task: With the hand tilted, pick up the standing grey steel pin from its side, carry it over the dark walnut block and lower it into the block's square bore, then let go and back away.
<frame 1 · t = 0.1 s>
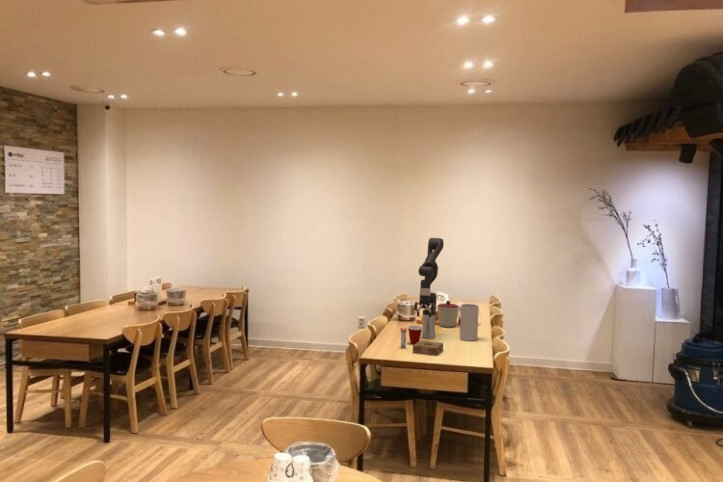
hand: (424, 317, 408), 17 cm above the table, tool pointing down, fingers open, 8 cm apart
plastic cup: (414, 344, 401), on the table
canister: (447, 326, 465), on the table
lynch pin: (403, 348, 387), on the table
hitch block: (428, 351, 378), on the table
cylinder vase: (468, 339, 418), on the table
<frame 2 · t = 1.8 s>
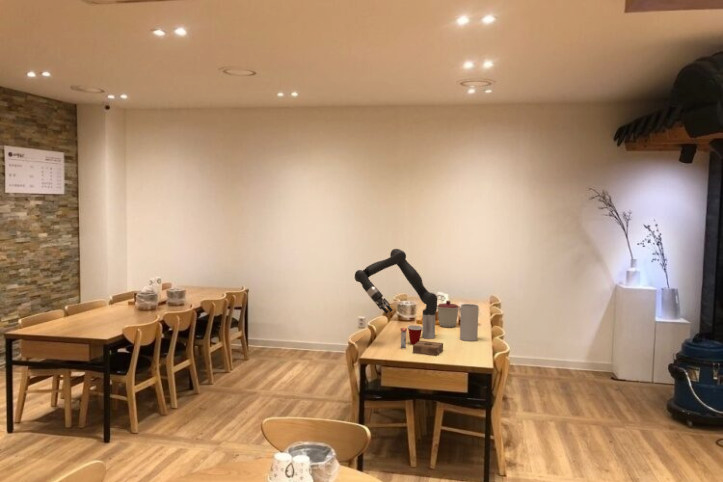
hand: (389, 312, 391), 23 cm above the table, tool tilted 45°, fingers open, 8 cm apart
nothing on the table moved.
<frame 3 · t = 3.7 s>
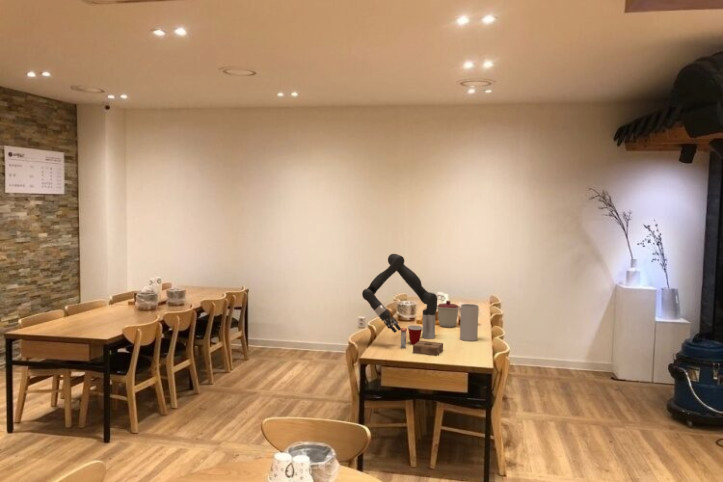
hand: (398, 330, 388), 11 cm above the table, tool tilted 45°, fingers open, 8 cm apart
nothing on the table moved.
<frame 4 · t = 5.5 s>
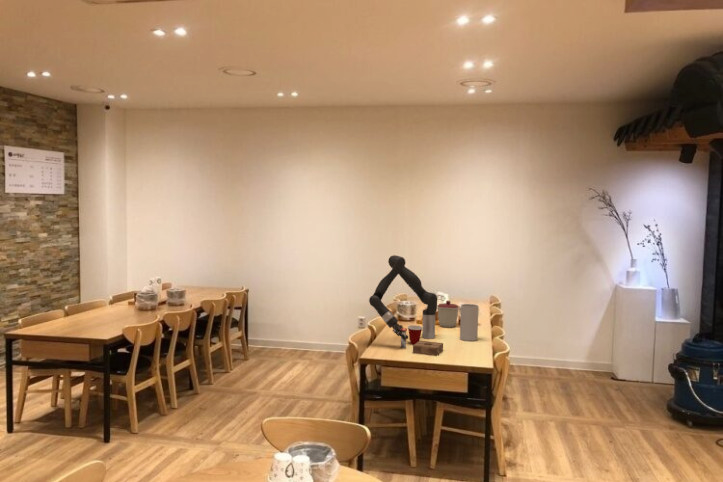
hand: (406, 338, 386), 7 cm above the table, tool tilted 45°, fingers closed on lynch pin, 3 cm apart
lynch pin: (403, 348, 387), on the table, touching gripper
everything else where it was.
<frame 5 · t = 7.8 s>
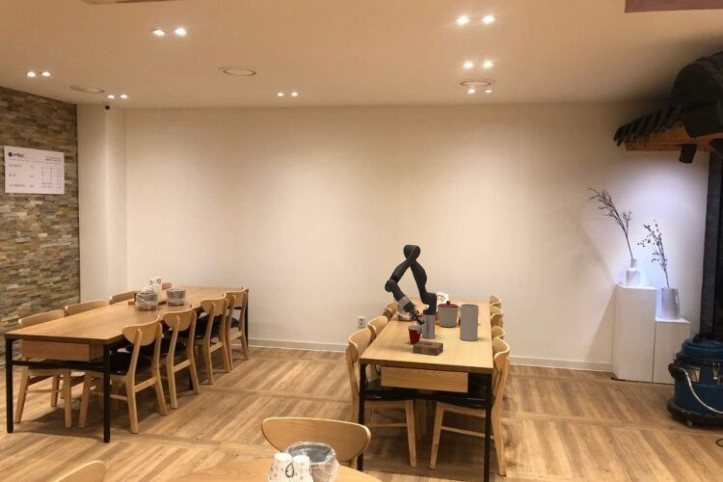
hand: (423, 323, 379), 18 cm above the table, tool tilted 45°, fingers closed on lynch pin, 3 cm apart
lynch pin: (419, 333, 381), point 11 cm above the table, touching gripper
everything else where it was.
when the fingers open (10 cm above the table, at t = 10.0 s): lynch pin drops 4 cm, resting in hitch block.
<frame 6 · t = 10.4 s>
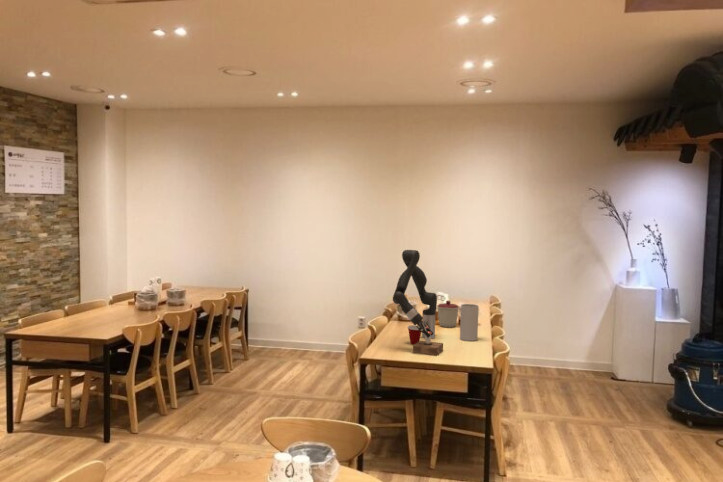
hand: (430, 335, 377), 11 cm above the table, tool tilted 45°, fingers open, 6 cm apart
lynch pin: (427, 351, 379), resting in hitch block
everything else where it was.
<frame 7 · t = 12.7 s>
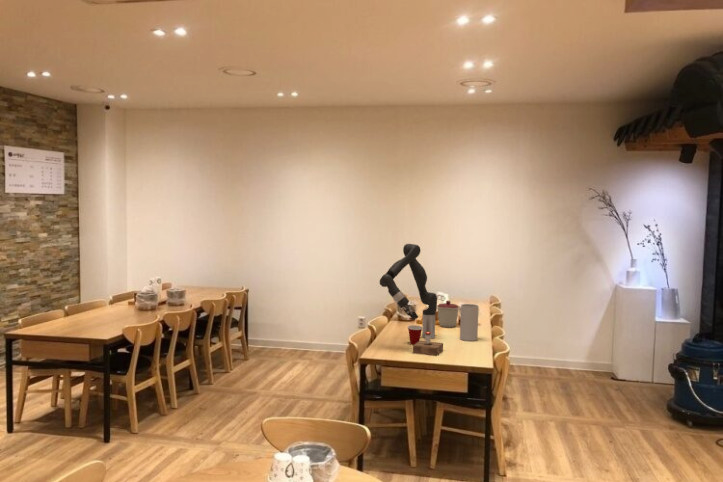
hand: (416, 318, 382), 21 cm above the table, tool tilted 40°, fingers open, 8 cm apart
nothing on the table moved.
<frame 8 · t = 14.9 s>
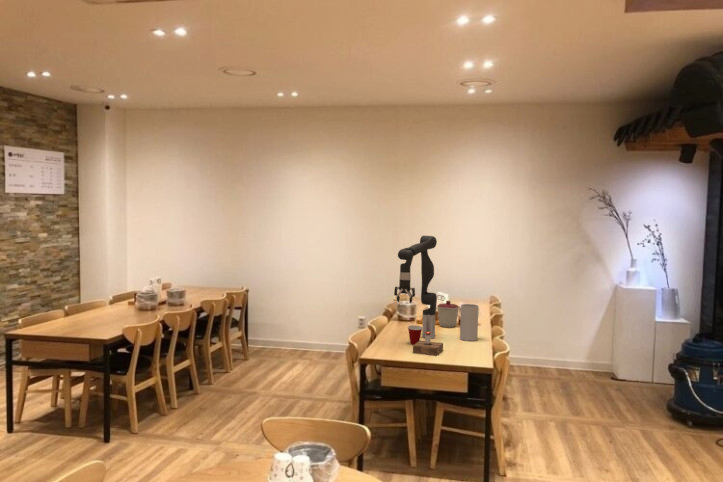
hand: (404, 302, 392), 30 cm above the table, tool pointing down, fingers open, 8 cm apart
nothing on the table moved.
at the end: lynch pin 0.4 cm off-centre on the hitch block, point 0.0 cm above the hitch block's base; lynch pin tilted 0°; the gripper is holding nothing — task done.
